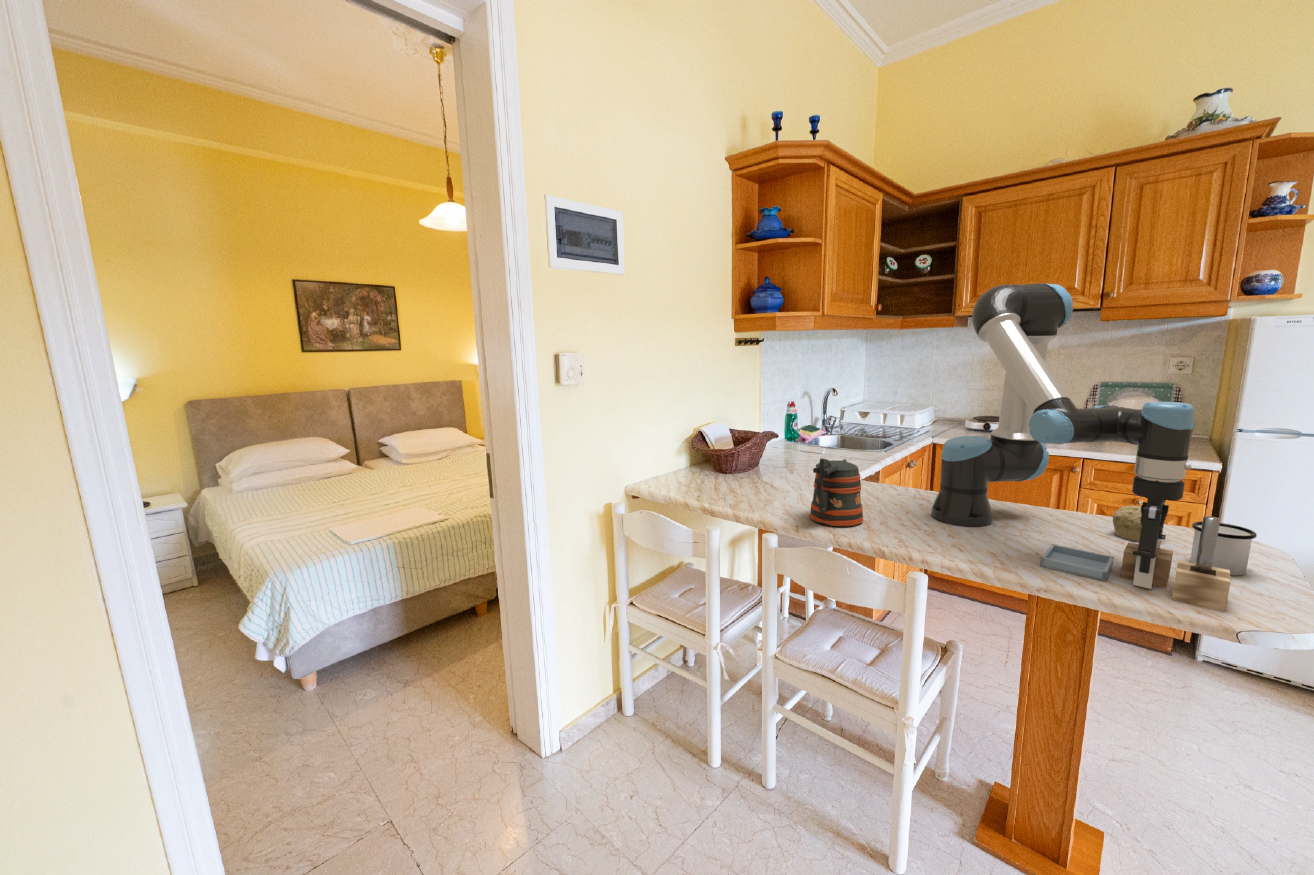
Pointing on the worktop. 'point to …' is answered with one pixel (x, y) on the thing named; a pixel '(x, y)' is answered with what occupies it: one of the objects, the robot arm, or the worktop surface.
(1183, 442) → the robot arm
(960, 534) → the worktop surface
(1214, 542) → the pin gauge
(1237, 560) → the mug
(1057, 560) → the tray
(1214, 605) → the oak block
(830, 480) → the beer stein
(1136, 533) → the coral
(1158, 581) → the walnut block
